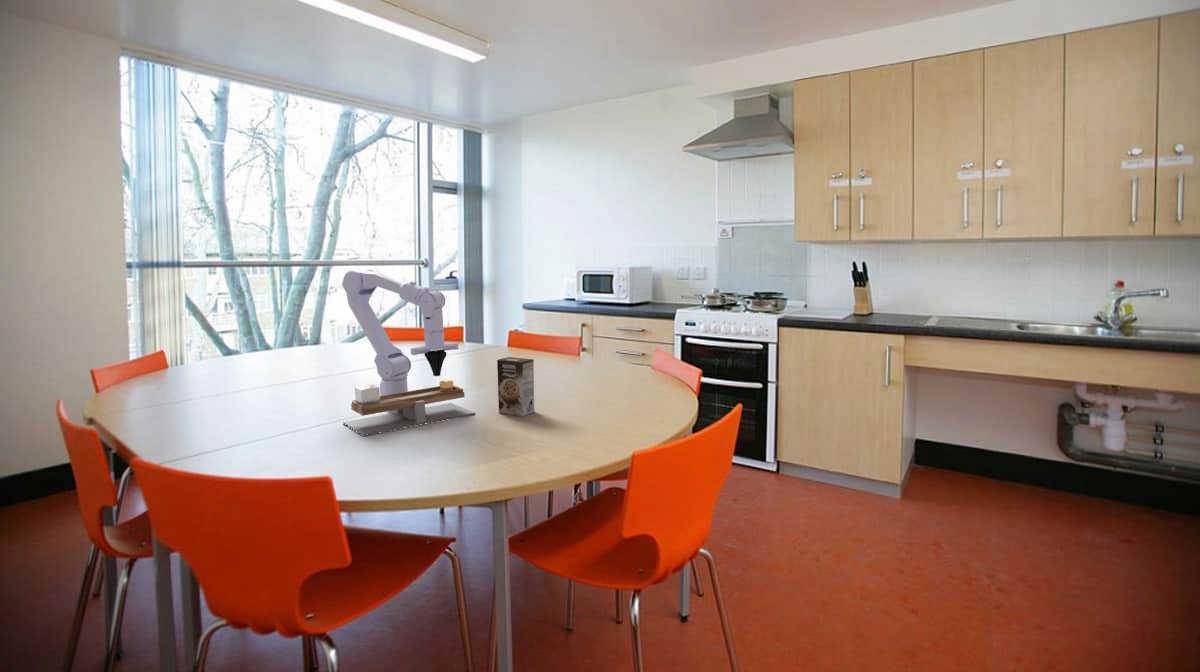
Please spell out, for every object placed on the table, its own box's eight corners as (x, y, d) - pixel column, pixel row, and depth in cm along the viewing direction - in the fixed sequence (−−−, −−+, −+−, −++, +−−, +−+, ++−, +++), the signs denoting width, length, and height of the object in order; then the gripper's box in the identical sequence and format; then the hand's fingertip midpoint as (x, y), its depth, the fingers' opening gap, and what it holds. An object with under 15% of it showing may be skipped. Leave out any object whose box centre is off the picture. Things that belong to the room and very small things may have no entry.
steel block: (355, 404, 177) (354, 387, 176) (373, 401, 180) (372, 384, 179) (362, 408, 173) (360, 390, 172) (380, 404, 176) (379, 387, 176)
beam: (349, 408, 179) (349, 399, 179) (448, 391, 198) (448, 383, 197) (364, 416, 170) (363, 407, 170) (466, 397, 189) (466, 389, 188)
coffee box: (497, 413, 190) (495, 359, 188) (510, 408, 196) (508, 356, 193) (523, 416, 186) (521, 361, 183) (535, 411, 191) (534, 358, 189)
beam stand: (343, 424, 180) (341, 401, 179) (450, 404, 201) (449, 384, 200) (362, 436, 168) (361, 412, 167) (475, 414, 189) (474, 393, 188)
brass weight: (437, 391, 191) (437, 381, 191) (450, 389, 194) (449, 379, 193) (443, 393, 188) (442, 383, 188) (456, 391, 190) (455, 381, 190)
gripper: (416, 334, 185) (419, 380, 187) (461, 329, 194) (464, 373, 196) (406, 332, 190) (409, 377, 192) (451, 328, 200) (454, 370, 201)
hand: (436, 375), depth 194 cm, fingers closed
